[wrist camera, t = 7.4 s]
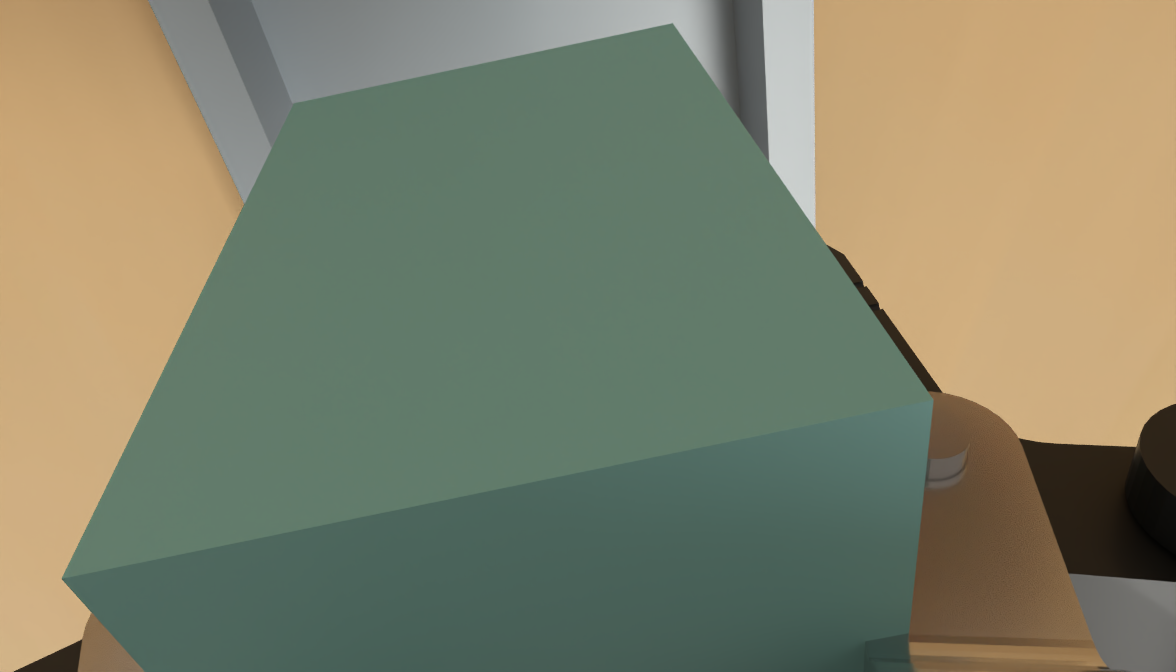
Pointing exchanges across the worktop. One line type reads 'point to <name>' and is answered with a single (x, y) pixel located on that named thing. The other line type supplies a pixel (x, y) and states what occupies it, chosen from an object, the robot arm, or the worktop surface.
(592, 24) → the tray
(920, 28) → the worktop surface
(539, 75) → the block
